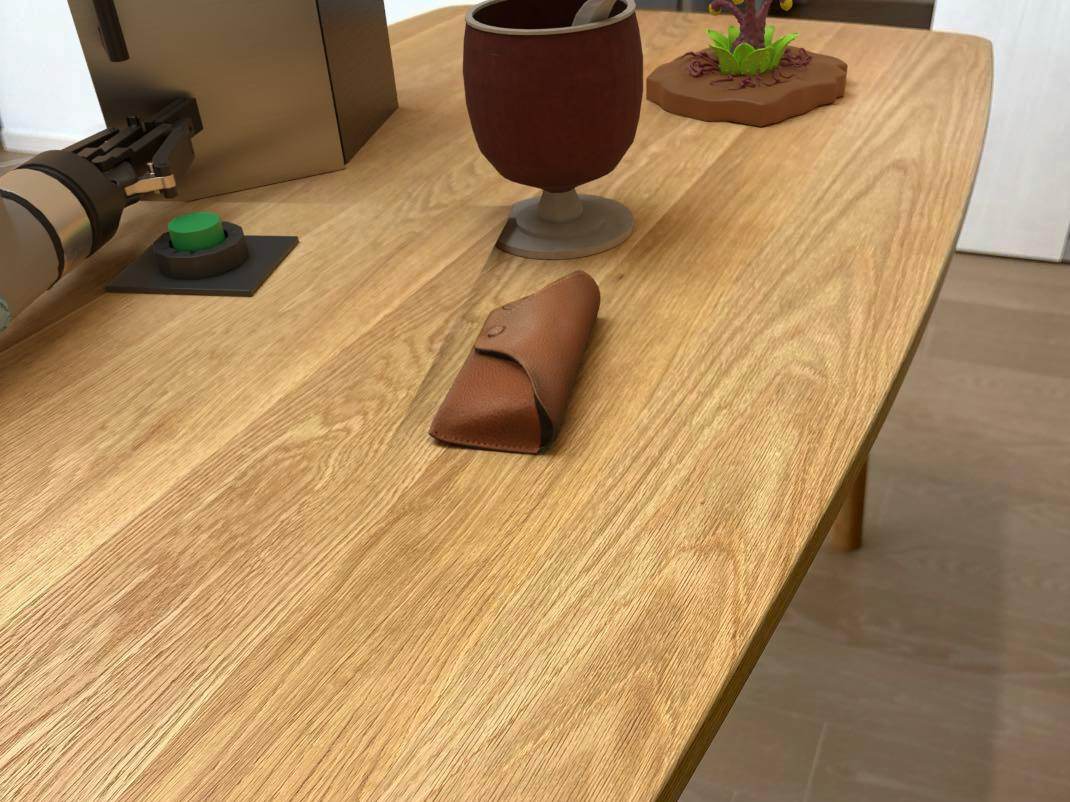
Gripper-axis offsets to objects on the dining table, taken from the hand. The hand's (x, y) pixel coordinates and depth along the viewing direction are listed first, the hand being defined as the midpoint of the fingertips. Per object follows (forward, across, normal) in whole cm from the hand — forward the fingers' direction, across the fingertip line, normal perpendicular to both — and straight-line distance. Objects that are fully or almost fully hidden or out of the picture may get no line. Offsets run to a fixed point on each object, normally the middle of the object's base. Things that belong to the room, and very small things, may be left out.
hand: (191, 113), depth 96 cm
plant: (+32, +48, -8) cm, 58 cm away
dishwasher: (+18, 0, -8) cm, 20 cm away
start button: (-18, +8, -4) cm, 20 cm away
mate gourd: (-5, +35, -8) cm, 36 cm away
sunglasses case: (-29, +36, -8) cm, 47 cm away
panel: (-18, +8, -8) cm, 21 cm away
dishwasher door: (0, +3, -8) cm, 8 cm away
